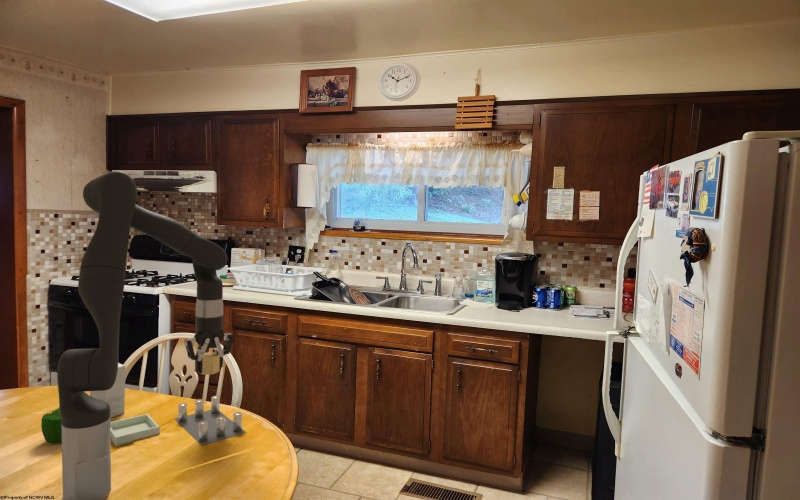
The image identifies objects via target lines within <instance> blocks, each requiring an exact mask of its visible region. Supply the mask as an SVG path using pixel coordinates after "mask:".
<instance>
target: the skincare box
mask: <svg viewBox="0 0 800 500" xmlns="http://www.w3.org/2000/svg"><path fill="white" fill-rule="evenodd" d="M126 368H127V367H126V365H125V364H122V363H120V362H118V371H117V377H116V380H115V383H114V385H113V386H112V388H111V389H109V390H104V391H89V396H91V397H93V398H96V399H99V400H102V401H105V402H107V403H108V404H109V406H110V419H112V418H115V417H118V416H121V415H123V414H124V413H125V403H126V402H125V399H126V398H125V397H126V395H125V394H126Z"/></svg>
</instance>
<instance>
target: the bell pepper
mask: <svg viewBox="0 0 800 500" xmlns="http://www.w3.org/2000/svg"><path fill="white" fill-rule="evenodd" d="M40 422H41V424H40V425H41V432H42V435H43V438H44V441H45V442H46V443H47V444H50V445H56V444H62V421H61V415H60V407H58V408H56V409H55V410H53V411H51V412H49V413H45V414H43V415H42V417H41V421H40Z"/></svg>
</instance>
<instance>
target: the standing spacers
mask: <svg viewBox="0 0 800 500" xmlns="http://www.w3.org/2000/svg"><path fill="white" fill-rule="evenodd" d="M210 401H211V402H210V405H211V406H210V410H211V414H218V413H219V411H220V396H219V395H213V396H211V400H210ZM204 402H205V401H204V399H202V398H201V399H200V398H199V399H195V401H194V414H195V418H202V417H203V411H204V408H205V407H204V404H205V403H204ZM177 407H178V408H177V414H178V415H177V418H178V422H186V421H187V415H188V404H187V402H181V403H179V404H178V406H177ZM232 416H233V420H232V421H233V431H234V432H240V431H242V429H243V413H242V412H241V411H235V412H233V414H232ZM178 422H177V423H178ZM216 436H217V437H223V436H225V417H223V416H220V417H217V418H216ZM207 440H208V422H207V421H201V422H199V440H198V441H199V442H205V441H207Z"/></svg>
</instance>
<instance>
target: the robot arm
mask: <svg viewBox="0 0 800 500" xmlns="http://www.w3.org/2000/svg"><path fill="white" fill-rule="evenodd" d="M82 198H83V200H84V202H85V205H87V207H89V208H90V209H91V210H92V211H94V212H95V213H98V220H97V224H96V228H95V231H94V233H93V235H92V237H91V238H90V241H89V243H88V245H87V248H86V250H85V252H84V253H83V257H82V260H81V263H80V267H79V268H80V269H79V276H78V283H77V291H78V294H79V296H80V299H81V301H82V302H83V304H84V306H85V307H86V309H87V310H88V313H90V315H91V317H92V318H93V321H94V322H95V325H96V328H97V331H98V337H99V348H72V349H67V350H65V351H64V352H63V353H62V354H61V356H60V358H59V359H58V365H57V371H56V374H57V375H56V376H57V379H56V380H57V392H58V402H59V403H58V404H59V407H60V415H61V421H62V443H61V456H62V457H61V470H62V471H61V473H62V475H61V476H62V478H61V479H62V500H104V499H107V498H108V497H109V496H108V495H109V494H110V492H111V491H112V490H111V489H112V466H111V465H112V464H111V463H112V461H111V457H112V456H111V454H112V453H111V451H112V450H111V442H112V441H111V439H110V422H111V418H110V406H109V404H108V403H107V402H105V401H102V400H99V399H96V398H93V397H91V396H90V394H87V392H90V391H104V390H109V389H111V388H112V386H113V385H114V383H115V380H116V377H117V371H118V363H119V357H120V356H119V353H120V352H119V351H120V349H119V348H120V347H119V346H120V324H121V322H120V321H121V312H122V306H123V305H122V303H123V298H124V290H125V282H126V273H127V258H128V250H129V244H130V243H129V240H130V232H131V231H130V230H131V228H132V229H134V230H137V231H139V232H141V233H143V234H146V235H147V236H149V237H150V238H153V239H154V240H156V241H158V242H160V243H161V244H162V245H165V246H166V247H168V248H169V249H172V250H173V251H175V252H176V253H178V254H180V255H183V256H184V257H185V256H186V257H189V258H191V259H192V268H193V271H194V278H195V281H196V303H195V334H194V336H193V337H191V338H185V339H184V340H183V342H184V344H185V350H186V352H187V357H188V359H190V360H191V361H194V370H195V371H196V372H197V373H198V374H201V373H202V361H201V360H202V357H203V354H204V353H206V351H207V350H209V349H214V352H216V353H217V354H219V355H220V369H219V371H221V369H222V368H223V366H224V356H227V355H229V354H230V353H231V348H232V344H233V340H234V334H232V333H230V332H227V333H226V332H224V300H223V299H224V298H223V296H224V295H223V293H224V292H223V287H224V285H223V281H222V279H221V278H219V277H218V275H217V271H220V270H222V269H223V268H225V267H226V265H227V263H228V259H229V258H228V254H227V252H226V251H225V249H224V248H222V247H221V246H220V245H219V244H217V243H215V242H213V241H211V240H208V239H207V238H205V237H203V236H200V235H199V234H197V233H196V232H194V230H192V229H190V228H189V227H187V226H185V225H184V224H182V223H181V222H179V221H177V220H175V219H173V218H171V217H168V216H167V215H166V216H165V215H162V214H159V213H157V212H154V211H151V210H148V209H146V208H144V207H142V206H139V204H137V199H138V189H137V185H136V183H135V181H134V179H133V177H131V175H129V173H127V172H125V171H122V170H121V171H120V170H115V171H110V172H109V171H108V172H106V173H103V174H102V175H100V176H98V177H96V178H94V179H92V180H90V181H89V182H87V184H85V186H84V188H83V191H82ZM223 339H224V342H223V346H222V344H221V342H222V340H223ZM195 342H196V344H197V347H196V352H195V350H194V347H193V346H194V345H195ZM59 407H58V408H59Z"/></svg>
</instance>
